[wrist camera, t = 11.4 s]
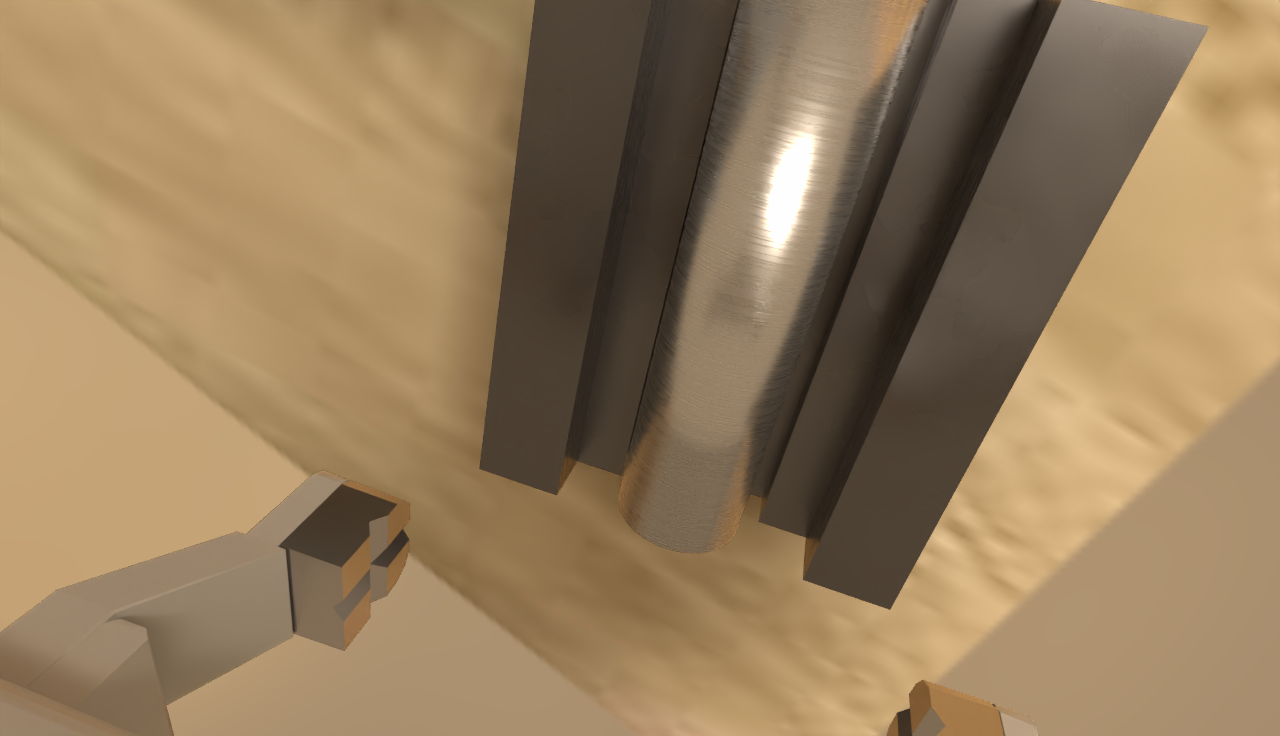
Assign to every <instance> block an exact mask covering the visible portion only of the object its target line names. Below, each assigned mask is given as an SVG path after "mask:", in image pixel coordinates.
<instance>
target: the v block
mask: <svg viewBox="0 0 1280 736" xmlns="http://www.w3.org/2000/svg"><path fill="white" fill-rule="evenodd" d="M739 2H740V0H535V6H534V15H533V23H532V32H531V40H530V48H529V57H528V65H527V74H526V82H525V91H524V99H523V107H522V116H521V124H520V133H519V141H518V150H517V158H516V166H515V175H514V183H513V192H512V200H511V208H510V217H509V225H508V234H507V242H506V251H505V259H504V267H503V276H502V284H501V293H500V301H499V310H498V318H497V326H496V335H495V343H494V352H493V360H492V369H491V377H490V385H489V394H488V402H487V411H486V419H485V428H484V436H483V444H482V453H481V461H480V469H482V470H484V471H487V472H490V473H493V474H496V475H499V476H502V477H505V478H508V479H511V480H514V481H516V482H519V483H522V484H525V485H528V486H531V487H534V488H537V489H540V490H543V491H546V492H549V493H551V494H554V495H557V494H558V492H559V491H560V489H561V487H562V486H563V484H564V482H565V481H566V479H567V477H568V476H569V474H570V472H571V471H572V469H573V467H574V466H575V464H576V462H577V461H579V462H582V463H585V464H588V465H591V466H594V467H597V468H600V469H603V470H606V471H609V472H612V473H615V474H618V475H621V476H622V474H623V472H624V470H625V467H626V462H627V458H628V454H629V450H630V446H631V442H632V438H633V434H634V430H635V426H636V422H637V418H638V413H639V409H640V405H641V401H642V397H643V393H644V389H645V385H646V381H647V377H648V373H649V369H650V365H651V360H652V356H653V352H654V348H655V344H656V340H657V336H658V332H659V328H660V324H661V320H662V316H663V312H664V307H665V303H666V299H667V295H668V291H669V287H670V283H671V279H672V275H673V271H674V267H675V263H676V258H677V254H678V250H679V246H680V242H681V238H682V234H683V230H684V226H685V222H686V218H687V214H688V210H689V205H690V201H691V197H692V193H693V189H694V185H695V181H696V177H697V173H698V169H699V165H700V161H701V157H702V152H703V148H704V144H705V140H706V136H707V132H708V128H709V124H710V120H711V116H712V112H713V108H714V103H715V99H716V95H717V91H718V87H719V83H720V79H721V75H722V71H723V67H724V63H725V59H726V55H727V50H728V46H729V42H730V38H731V34H732V30H733V26H734V22H735V18H736V14H737V10H738V6H739ZM1208 28H1209V27H1208V26H1203V25H1199V24H1194V23H1190V22H1185V21H1181V20H1176V19H1172V18H1168V17H1163V16H1159V15H1154V14H1150V13H1145V12H1141V11H1137V10H1132V9H1128V8H1123V7H1119V6H1114V5H1110V4H1105V3H1101V2H1097V1H1092V0H929V1H928V4H927V6H926V9H925V12H924V15H923V17H922V20H921V23H920V26H919V29H918V31H917V34H916V37H915V40H914V42H913V45H912V48H911V51H910V53H909V56H908V59H907V62H906V64H905V67H904V70H903V73H902V75H901V78H900V81H899V84H898V86H897V89H896V92H895V95H894V97H893V100H892V103H891V106H890V108H889V111H888V114H887V117H886V120H885V122H884V125H883V128H882V131H881V133H880V136H879V139H878V142H877V144H876V147H875V150H874V153H873V155H872V158H871V161H870V164H869V166H868V169H867V172H866V175H865V177H864V180H863V183H862V186H861V188H860V191H859V194H858V197H857V199H856V202H855V205H854V208H853V210H852V213H851V216H850V219H849V222H848V224H847V227H846V230H845V233H844V235H843V238H842V241H841V244H840V246H839V249H838V252H837V255H836V257H835V260H834V263H833V266H832V268H831V271H830V274H829V277H828V279H827V282H826V285H825V288H824V290H823V293H822V296H821V299H820V301H819V304H818V307H817V310H816V312H815V315H814V318H813V321H812V324H811V326H810V329H809V332H808V335H807V337H806V340H805V343H804V346H803V348H802V351H801V354H800V357H799V359H798V362H797V365H796V368H795V370H794V373H793V376H792V379H791V381H790V384H789V387H788V390H787V392H786V395H785V398H784V401H783V403H782V406H781V409H780V412H779V415H778V417H777V420H776V423H775V426H774V428H773V431H772V434H771V437H770V439H769V442H768V445H767V448H766V450H765V453H764V456H763V459H762V461H761V464H760V467H759V470H758V472H757V475H756V478H755V481H754V483H753V486H752V489H751V492H750V494H753V495H756V496H759V497H762V504H761V510H760V516H759V522H761V523H764V524H767V525H770V526H773V527H776V528H779V529H782V530H785V531H788V532H791V533H794V534H797V535H800V536H803V537H806V542H805V557H804V571H803V580H805V581H808V582H811V583H814V584H817V585H820V586H823V587H825V588H828V589H831V590H834V591H837V592H840V593H843V594H846V595H849V596H852V597H855V598H858V599H860V600H863V601H866V602H869V603H872V604H875V605H878V606H881V607H884V608H887V609H891V607H892V605H893V603H894V602H895V600H896V598H897V596H898V594H899V593H900V591H901V589H902V587H903V585H904V583H905V582H906V580H907V578H908V576H909V574H910V572H911V571H912V569H913V567H914V565H915V563H916V561H917V560H918V558H919V556H920V554H921V552H922V551H923V549H924V547H925V545H926V543H927V541H928V540H929V538H930V536H931V534H932V532H933V530H934V529H935V527H936V525H937V523H938V521H939V519H940V518H941V516H942V514H943V512H944V510H945V509H946V507H947V505H948V503H949V501H950V499H951V498H952V496H953V494H954V492H955V490H956V488H957V487H958V485H959V483H960V481H961V479H962V477H963V476H964V474H965V472H966V470H967V468H968V467H969V465H970V463H971V461H972V459H973V457H974V456H975V454H976V452H977V450H978V448H979V446H980V445H981V443H982V441H983V439H984V437H985V435H986V434H987V432H988V430H989V428H990V426H991V425H992V423H993V421H994V419H995V417H996V415H997V414H998V412H999V410H1000V408H1001V406H1002V404H1003V403H1004V401H1005V399H1006V397H1007V395H1008V393H1009V392H1010V390H1011V388H1012V386H1013V384H1014V383H1015V381H1016V379H1017V377H1018V375H1019V373H1020V372H1021V370H1022V368H1023V366H1024V364H1025V362H1026V361H1027V359H1028V357H1029V355H1030V353H1031V351H1032V350H1033V348H1034V346H1035V344H1036V342H1037V341H1038V339H1039V337H1040V335H1041V333H1042V331H1043V330H1044V328H1045V326H1046V324H1047V322H1048V320H1049V319H1050V317H1051V315H1052V313H1053V311H1054V309H1055V308H1056V306H1057V304H1058V302H1059V300H1060V299H1061V297H1062V295H1063V293H1064V291H1065V289H1066V288H1067V286H1068V284H1069V282H1070V280H1071V278H1072V277H1073V275H1074V273H1075V271H1076V269H1077V267H1078V266H1079V264H1080V262H1081V260H1082V258H1083V257H1084V255H1085V253H1086V251H1087V249H1088V247H1089V246H1090V244H1091V242H1092V240H1093V238H1094V236H1095V235H1096V233H1097V231H1098V229H1099V227H1100V225H1101V224H1102V222H1103V220H1104V218H1105V216H1106V215H1107V213H1108V211H1109V209H1110V207H1111V205H1112V204H1113V202H1114V200H1115V198H1116V196H1117V194H1118V193H1119V191H1120V189H1121V187H1122V185H1123V183H1124V182H1125V180H1126V178H1127V176H1128V174H1129V173H1130V171H1131V169H1132V167H1133V165H1134V163H1135V162H1136V160H1137V158H1138V156H1139V154H1140V152H1141V151H1142V149H1143V147H1144V145H1145V143H1146V141H1147V140H1148V138H1149V136H1150V134H1151V132H1152V131H1153V129H1154V127H1155V125H1156V123H1157V121H1158V120H1159V118H1160V116H1161V114H1162V112H1163V110H1164V109H1165V107H1166V105H1167V103H1168V101H1169V100H1170V98H1171V96H1172V94H1173V92H1174V90H1175V89H1176V87H1177V85H1178V83H1179V81H1180V79H1181V78H1182V76H1183V74H1184V72H1185V70H1186V68H1187V67H1188V65H1189V63H1190V61H1191V59H1192V58H1193V56H1194V54H1195V52H1196V50H1197V48H1198V47H1199V45H1200V43H1201V41H1202V39H1203V37H1204V36H1205V34H1206V32H1207V30H1208Z"/></svg>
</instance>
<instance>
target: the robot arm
mask: <svg viewBox="0 0 1280 736" xmlns="http://www.w3.org/2000/svg"><path fill="white" fill-rule="evenodd" d="M409 520H410V504H409V503H408V502H406V501H405V500H402V499H399V498H397V497H394V496H391V495H389V494H386V493H383V492H381V491H378V490H375V489H373V488H370V487H368V486H365V485H362V484H360V483H357V482H354V481H352V480H348V479H345V478H342V477H340V476H337V475H334V474H332V473H329V472H326V471H324V470H323V471H320V472H317V473H315V474H313V475H311V476H310V477H309V478H308V479H307V480H306V481H305V482H304V483H302V484H301V485H300V486H299V487H298V488H297V489H296V490H294V491H293V492H292V493H291V494H290V495H289V496H288V497H287V498H286V499H284V500H283V501H282V502H281V503H280V504H279V505H278V506H277V507H276V508H275V509H273V510H272V511H271V512H270V513H269V514H268V515H267V516H265V517H264V518H263V519H262V520H261V521H260V522H259V523H258V524H257V525H256V526H254V527H253V528H252V529H251V530H250V531H249V532H248V533H247V534H242V533H240V532H234V533H231V534H228V535H225V536H222V537H219V538H216V539H212V540H209V541H206V542H203V543H200V544H197V545H194V546H191V547H188V548H185V549H182V550H179V551H175V552H172V553H169V554H166V555H163V556H160V557H157V558H154V559H151V560H148V561H144V562H141V563H138V564H135V565H132V566H129V567H126V568H123V569H120V570H117V571H113V572H111V573H107V574H104V575H101V576H98V577H95V578H92V579H89V580H86V581H82V582H79V583H77V584H73V585H70V586H67V587H64V588H61V589H58V590H56V591H55V592H53V593H52V594H50V595H49V596H48V597H46V598H45V599H44V600H42V601H41V602H40V603H38V604H37V605H36V606H35V607H33V608H32V609H31V610H29V611H28V612H27V613H25V614H24V615H23V616H21V617H20V618H19V619H17V620H16V621H15V622H13V623H12V624H11V625H9V626H8V627H7V628H6V629H4V630H3V631H1V632H0V736H174V734H173V730H172V726H171V722H170V718H169V714H168V710H167V707H166V705H168V704H170V703H172V702H174V701H175V700H177V699H179V698H181V697H183V696H185V695H186V694H188V693H190V692H192V691H194V690H196V689H198V688H199V687H201V686H203V685H205V684H206V683H209V682H210V681H212V680H214V679H216V678H218V677H220V676H222V675H223V674H225V673H227V672H229V671H231V670H233V669H235V668H236V667H238V666H240V665H242V664H243V663H246V662H247V661H249V660H251V659H253V658H255V657H257V656H258V655H260V654H262V653H264V652H266V651H268V650H270V649H271V648H273V647H275V646H277V645H279V644H281V643H283V642H284V641H286V640H288V639H290V638H292V637H293V633H294V634H297V635H300V636H303V637H306V638H309V639H311V640H314V641H317V642H320V643H323V644H326V645H329V646H332V647H334V648H337V649H340V650H343V651H345V649H346V648H347V647H348V646H349V644H350V643H351V642H352V641H353V639H354V638H355V637H356V635H357V634H358V633H359V631H360V630H361V629H362V627H363V626H364V625H365V624H366V622H367V621H368V620H369V618H370V603H371V602H374V601H376V600H378V599H380V598H383V597H385V596H387V595H388V593H389V592H390V591H391V589H392V588H393V586H394V585H395V584H396V582H397V581H398V579H399V576H400V575H401V572H402V570H403V568H404V566H405V564H406V560H407V556H408V552H409V538H408V537H407V535H406V534H405V532H404V530H403V528H404V526H405V525H406V524H407V523H408V521H409ZM909 702H910V709H907V710H904V711H901V712H898V713H897V714H896V716H895V717H894V719H893V721H892V723H891V724H890V726H889V728H888V732H887V736H1039V735H1038V731H1037V728H1036V724H1035V722H1034V721H1033V720H1032V718H1031V717H1030V716H1028V715H1025V714H1022V713H1019V712H1016V711H1013V710H1011V709H1008V708H1005V707H1002V706H999V705H996V704H991V703H990V702H988V701H985V700H982V699H979V698H976V697H973V696H970V695H967V694H964V693H961V692H958V691H955V690H952V689H949V688H946V687H943V686H940V685H937V684H934V683H931V682H928V681H925V680H921V681H920V682H918V683H916V684H915V686H914V687H913V689H912V690H911V692H910V693H909Z"/></svg>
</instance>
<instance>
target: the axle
mask: <svg viewBox="0 0 1280 736" xmlns="http://www.w3.org/2000/svg"><path fill="white" fill-rule="evenodd" d="M928 1H929V0H740V2H739V6H738V10H737V14H736V18H735V22H734V26H733V30H732V34H731V38H730V42H729V46H728V50H727V55H726V59H725V63H724V67H723V71H722V75H721V79H720V83H719V87H718V91H717V95H716V99H715V103H714V108H713V112H712V116H711V120H710V124H709V128H708V132H707V136H706V140H705V144H704V148H703V152H702V157H701V161H700V165H699V169H698V173H697V177H696V181H695V185H694V189H693V193H692V197H691V201H690V205H689V210H688V214H687V218H686V222H685V226H684V230H683V234H682V238H681V242H680V246H679V250H678V254H677V258H676V263H675V267H674V271H673V275H672V279H671V283H670V287H669V291H668V295H667V299H666V303H665V307H664V312H663V316H662V320H661V324H660V328H659V332H658V336H657V340H656V344H655V348H654V352H653V356H652V360H651V365H650V369H649V373H648V377H647V381H646V385H645V389H644V393H643V397H642V401H641V405H640V409H639V413H638V418H637V422H636V426H635V430H634V434H633V438H632V442H631V446H630V450H629V454H628V458H627V462H626V467H625V471H624V475H623V479H622V483H621V487H620V491H619V496H618V504H619V508H620V511H621V513H622V516H623V517H624V519H625V520H626V522H627V523H628V524H629V525H630V527H631V528H632V529H633V530H634V531H636V532H637V533H638V534H639V535H641V536H642V537H643V538H645V539H647V540H648V541H650V542H652V543H654V544H656V545H658V546H661V547H663V548H666V549H669V550H673V551H678V552H684V553H704V552H709V551H713V550H716V549H719V548H721V547H723V546H724V545H726V544H727V543H728V542H729V541H730V540H731V539H732V538H733V537H734V535H735V533H736V530H737V528H738V525H739V522H740V519H741V517H742V514H743V511H744V508H745V505H746V503H747V500H748V497H749V494H750V492H751V489H752V486H753V483H754V481H755V478H756V475H757V472H758V470H759V467H760V464H761V461H762V459H763V456H764V453H765V450H766V448H767V445H768V442H769V439H770V437H771V434H772V431H773V428H774V426H775V423H776V420H777V417H778V415H779V412H780V409H781V406H782V403H783V401H784V398H785V395H786V392H787V390H788V387H789V384H790V381H791V379H792V376H793V373H794V370H795V368H796V365H797V362H798V359H799V357H800V354H801V351H802V348H803V346H804V343H805V340H806V337H807V335H808V332H809V329H810V326H811V324H812V321H813V318H814V315H815V312H816V310H817V307H818V304H819V301H820V299H821V296H822V293H823V290H824V288H825V285H826V282H827V279H828V277H829V274H830V271H831V268H832V266H833V263H834V260H835V257H836V255H837V252H838V249H839V246H840V244H841V241H842V238H843V235H844V233H845V230H846V227H847V224H848V222H849V219H850V216H851V213H852V210H853V208H854V205H855V202H856V199H857V197H858V194H859V191H860V188H861V186H862V183H863V180H864V177H865V175H866V172H867V169H868V166H869V164H870V161H871V158H872V155H873V153H874V150H875V147H876V144H877V142H878V139H879V136H880V133H881V131H882V128H883V125H884V122H885V120H886V117H887V114H888V111H889V108H890V106H891V103H892V100H893V97H894V95H895V92H896V89H897V86H898V84H899V81H900V78H901V75H902V73H903V70H904V67H905V64H906V62H907V59H908V56H909V53H910V51H911V48H912V45H913V42H914V40H915V37H916V34H917V31H918V29H919V26H920V23H921V20H922V17H923V15H924V12H925V9H926V6H927V4H928Z"/></svg>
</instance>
